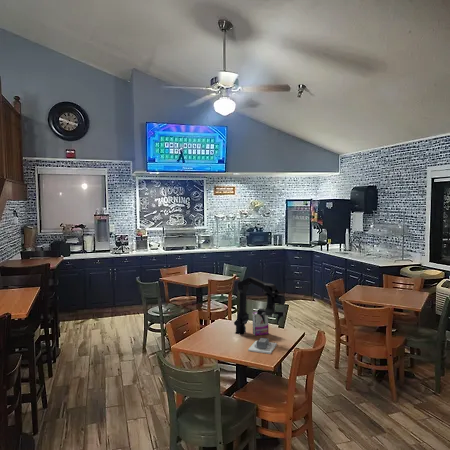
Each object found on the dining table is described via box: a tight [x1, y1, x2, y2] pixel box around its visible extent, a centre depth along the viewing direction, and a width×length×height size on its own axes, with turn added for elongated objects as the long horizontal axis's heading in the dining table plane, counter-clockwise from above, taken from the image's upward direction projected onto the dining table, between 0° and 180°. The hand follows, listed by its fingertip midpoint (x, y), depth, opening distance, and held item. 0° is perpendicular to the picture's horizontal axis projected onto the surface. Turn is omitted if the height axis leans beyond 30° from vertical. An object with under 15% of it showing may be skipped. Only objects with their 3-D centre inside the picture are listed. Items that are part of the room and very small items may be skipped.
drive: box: [256, 337, 270, 349], centre depth 259 cm, size 6×10×4 cm, turn 159°
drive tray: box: [247, 340, 278, 355], centre depth 259 cm, size 15×18×3 cm
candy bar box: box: [251, 311, 269, 337], centre depth 286 cm, size 11×5×16 cm, turn 112°
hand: (270, 324), depth 271 cm, fingers open, 9 cm apart
